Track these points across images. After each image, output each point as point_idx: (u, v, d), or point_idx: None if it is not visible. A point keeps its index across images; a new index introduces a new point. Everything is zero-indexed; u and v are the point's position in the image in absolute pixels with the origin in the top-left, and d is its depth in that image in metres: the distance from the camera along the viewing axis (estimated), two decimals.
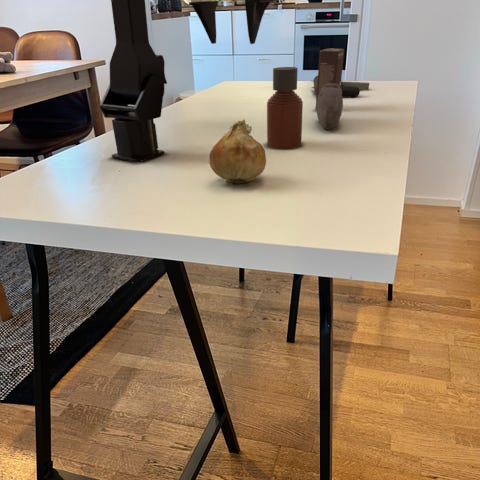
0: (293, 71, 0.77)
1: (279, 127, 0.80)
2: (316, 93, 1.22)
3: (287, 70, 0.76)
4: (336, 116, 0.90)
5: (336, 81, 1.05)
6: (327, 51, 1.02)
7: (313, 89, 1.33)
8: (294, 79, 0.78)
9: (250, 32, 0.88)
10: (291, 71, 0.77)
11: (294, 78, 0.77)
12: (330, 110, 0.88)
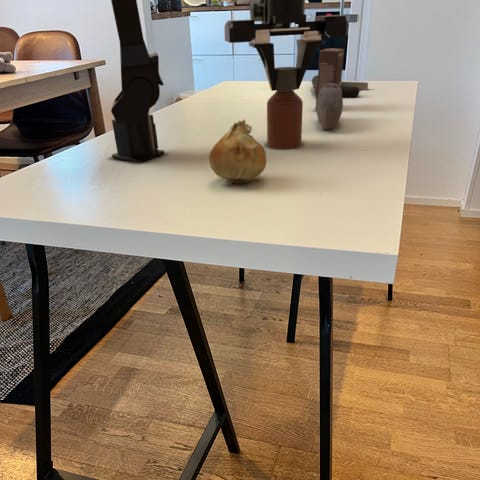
0: (293, 71, 0.77)
1: (279, 127, 0.80)
2: (316, 93, 1.22)
3: (287, 70, 0.76)
4: (337, 116, 0.90)
5: (336, 81, 1.05)
6: (327, 51, 1.02)
7: (312, 89, 1.33)
8: (294, 79, 0.78)
9: (301, 76, 0.78)
10: (291, 71, 0.77)
11: (294, 78, 0.77)
12: (330, 110, 0.88)
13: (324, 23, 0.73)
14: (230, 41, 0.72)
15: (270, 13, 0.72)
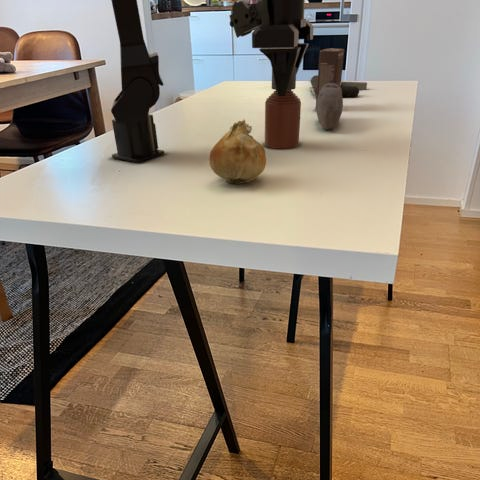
0: None
1: (277, 126, 0.80)
2: (316, 93, 1.22)
3: (295, 68, 0.77)
4: (337, 116, 0.90)
5: (336, 81, 1.05)
6: (327, 51, 1.02)
7: (311, 89, 1.33)
8: None
9: None
10: None
11: None
12: (330, 110, 0.88)
13: (307, 27, 0.79)
14: (289, 46, 0.68)
15: (288, 17, 0.72)
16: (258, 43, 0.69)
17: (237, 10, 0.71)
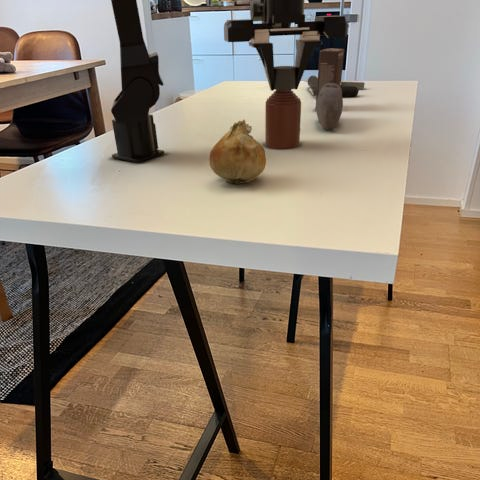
0: None
1: (278, 126, 0.80)
2: (315, 93, 1.22)
3: (291, 67, 0.79)
4: (336, 116, 0.90)
5: (336, 81, 1.05)
6: (327, 51, 1.02)
7: (309, 89, 1.33)
8: None
9: (300, 77, 0.78)
10: None
11: None
12: (330, 110, 0.88)
13: (323, 23, 0.73)
14: (229, 40, 0.72)
15: (269, 13, 0.72)
16: (224, 36, 0.76)
17: (250, 4, 0.78)
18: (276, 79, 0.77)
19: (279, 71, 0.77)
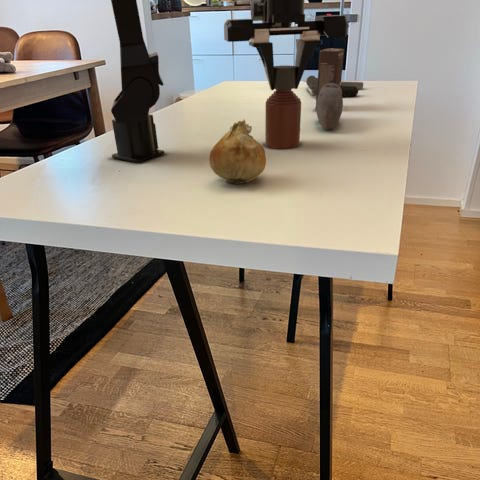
0: None
1: (278, 126, 0.80)
2: (315, 93, 1.22)
3: None
4: (337, 116, 0.90)
5: (336, 81, 1.05)
6: (327, 51, 1.02)
7: (308, 89, 1.33)
8: None
9: (300, 76, 0.78)
10: None
11: None
12: (330, 110, 0.88)
13: (323, 23, 0.73)
14: (228, 40, 0.72)
15: (269, 12, 0.72)
16: (224, 35, 0.76)
17: (251, 4, 0.78)
18: (289, 78, 0.77)
19: (292, 70, 0.77)
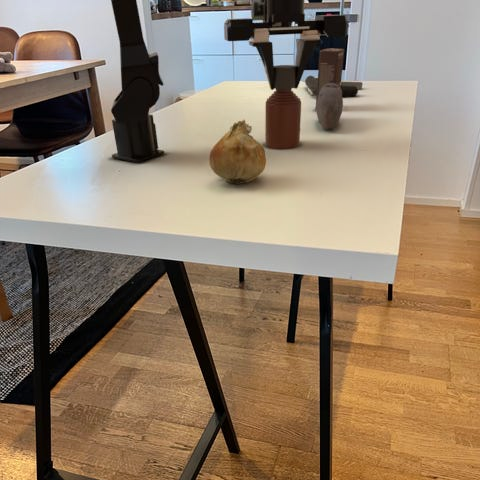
0: None
1: (278, 126, 0.80)
2: (315, 93, 1.22)
3: None
4: (337, 116, 0.90)
5: (336, 81, 1.05)
6: (327, 51, 1.02)
7: (307, 89, 1.33)
8: (274, 78, 0.78)
9: (300, 76, 0.78)
10: None
11: (274, 76, 0.78)
12: (330, 110, 0.88)
13: (323, 22, 0.73)
14: (228, 39, 0.72)
15: (269, 12, 0.72)
16: (224, 35, 0.76)
17: (251, 4, 0.78)
18: None
19: None
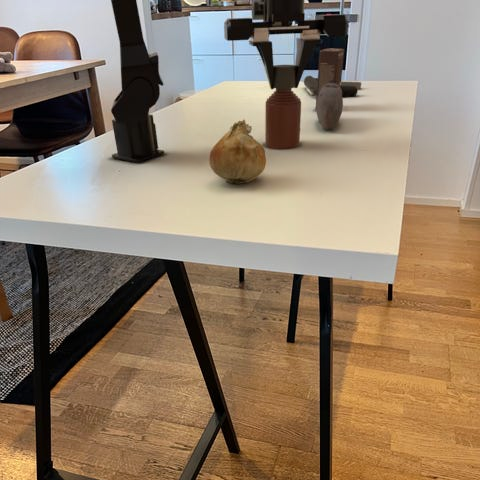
0: (284, 69, 0.76)
1: (278, 126, 0.80)
2: (315, 93, 1.22)
3: (278, 68, 0.76)
4: (336, 116, 0.90)
5: (336, 81, 1.05)
6: (327, 51, 1.02)
7: (306, 89, 1.33)
8: (286, 77, 0.77)
9: (300, 75, 0.78)
10: (282, 69, 0.76)
11: (286, 76, 0.77)
12: (330, 110, 0.88)
13: (323, 22, 0.73)
14: (228, 39, 0.72)
15: (269, 11, 0.72)
16: (224, 34, 0.76)
17: (252, 3, 0.78)
18: None
19: None
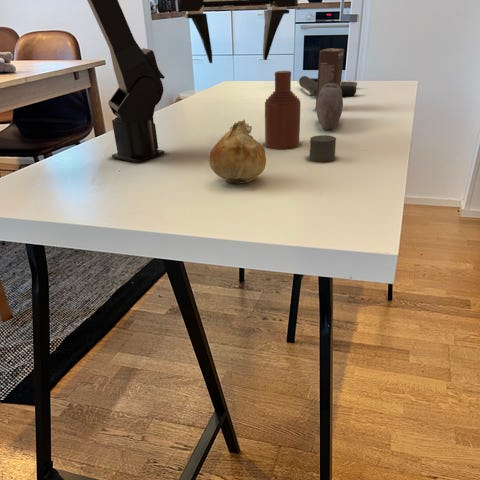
0: (325, 143, 0.73)
1: (277, 127, 0.80)
2: (315, 93, 1.22)
3: (318, 141, 0.73)
4: (336, 116, 0.90)
5: (336, 81, 1.05)
6: (327, 51, 1.02)
7: None
8: (326, 151, 0.74)
9: (269, 47, 0.78)
10: (322, 143, 0.73)
11: (327, 150, 0.74)
12: (330, 110, 0.88)
13: None
14: (179, 10, 0.73)
15: None
16: (176, 7, 0.76)
17: None
18: None
19: None
